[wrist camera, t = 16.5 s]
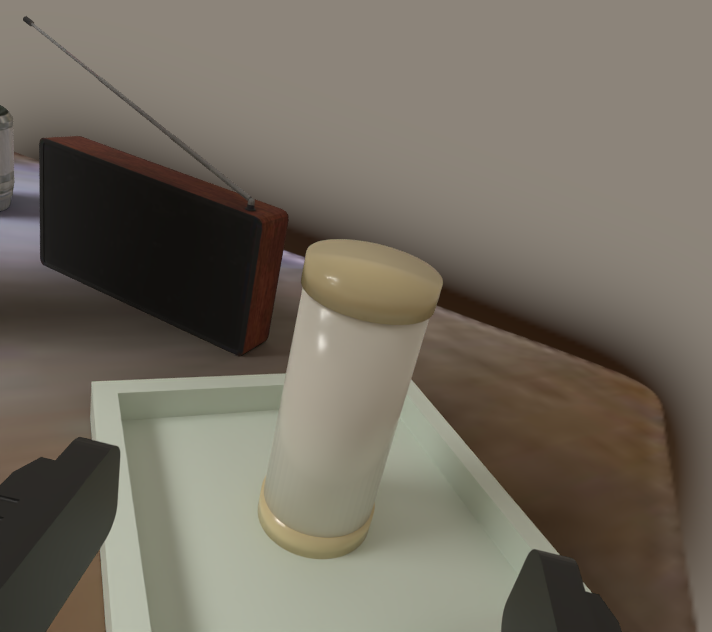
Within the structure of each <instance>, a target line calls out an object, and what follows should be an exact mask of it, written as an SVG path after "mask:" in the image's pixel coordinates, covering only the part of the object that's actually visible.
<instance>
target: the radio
mask: <svg viewBox="0 0 712 632" xmlns="http://www.w3.org/2000/svg"><path fill="white" fill-rule="evenodd" d="M23 21H25V22H26V23H27V24H28V25H30V26H33V27H34V28H35V29H37V30H38V31H39V32H40V33H42V34H43V35H44V36H45V37H47V38H48V39H49V40H50V41H51V42H53V43H54V44H55V45H57V46H58V47H59V48H60V49H61V50H63V51H64V52H65V53H66V54H68V55H69V56H70V57H71V58H73V59H74V60H75V61H76V62H78V63H79V64H80V65H81V66H83V67H84V68H85V69H86V70H88V71H89V72H90V73H91V74H93V75H94V76H95V77H96V78H98V80H99V81H100V82H101V83H103V84H104V85H105V86H106V87H108V88H109V89H110V90H112V91H113V92H114V93H115V94H116V95H118V96H119V97H120V98H121V99H123V100H124V101H125V102H126V103H128V104H129V105H130V106H131V107H133V108H134V109H135V110H136V111H138V112H139V113H140V114H141V115H142V116H144V117H145V118H146V119H147V120H149V121H150V122H151V123H152V124H154V125H155V126H156V127H158V128H159V129H160V130H161V131H162V132H164V133H165V134H166V135H167V136H169V137H170V139H171V140H173V141H174V142H175V143H177V144H178V145H179V146H180V147H181V148H183V149H184V150H185V151H186V152H188V153H189V154H190V155H191V156H192V157H194V158H195V159H196V160H197V161H199V162H200V163H201V164H202V165H204V166H205V167H206V168H207V169H209V170H210V171H211V172H212V173H214V174H215V175H216V176H217V177H219V178H220V179H221V180H222V181H223V182H225V183H226V184H227V185H229V186H230V187H231V188H232V189H233V190H235V191H236V192H237V193H236V192H233V191H230V190H227V189H225V188H222V187H219V186H216V185H214V184H211V183H208V182H205V181H203V180H200V179H197V178H194V177H192V176H189V175H186V174H183V173H181V172H178V171H175V170H172V169H169V168H166V167H164V166H161V165H158V164H156V163H153V162H150V161H147V160H145V159H142V158H139V157H136V156H133V155H131V154H128V153H125V152H122V151H120V150H117V149H114V148H111V147H109V146H106V145H103V144H100V143H98V142H95V141H92V140H89V139H87V138H84V137H81V136H72V137H53V138H42V139H41V140H40V143H39V157H40V158H39V159H40V160H39V164H40V259H41V263H42V264H43V265H45V266H47V267H49V268H51V269H53V270H55V271H57V272H60V273H62V274H64V275H66V276H68V277H70V278H72V279H75V280H77V281H79V282H81V283H83V284H85V285H87V286H90V287H92V288H94V289H96V290H98V291H100V292H102V293H105V294H107V295H109V296H111V297H113V298H115V299H117V300H120V301H122V302H124V303H126V304H128V305H130V306H132V307H135V308H137V309H139V310H141V311H143V312H145V313H147V314H150V315H152V316H154V317H156V318H158V319H160V320H162V321H165V322H167V323H169V324H171V325H173V326H175V327H177V328H180V329H182V330H184V331H186V332H188V333H190V334H192V335H195V336H197V337H199V338H201V339H203V340H205V341H207V342H210V343H212V344H214V345H216V346H218V347H220V348H222V349H225V350H227V351H229V352H231V353H233V354H235V355H237V356H241V355H243V354H244V353H246V352H248V351H249V350H251V349H253V348H254V347H256V346H258V345H259V344H261V343H263V342H264V341H266V340H267V338H268V335H269V329H270V324H271V318H272V312H273V306H274V301H275V295H276V289H277V283H278V278H279V272H280V266H281V260H282V255H283V249H284V243H285V237H286V231H287V226H288V214H287V213H286V211H284V210H282V209H280V208H277V207H274V206H271V205H269V204H266V203H263V202H261V201H258V200H255V199H253V198H251V196H249V195H248V194H247V193H246V192H244V191H243V190H242V189H240V188H239V187H238V186H237V185H236V184H234V183H233V182H232V181H231V180H229V179H228V178H227V177H226V176H224V175H223V174H222V173H221V172H220V171H218V170H217V169H216V168H214V167H213V166H212V165H210V163H208V162H207V161H206V160H204V159H203V158H202V157H201V156H199V155H198V154H197V153H196V152H194V151H193V150H192V149H190V147H188V146H187V145H186V144H185V143H183V142H182V141H181V140H180V139H178V138H177V137H176V136H174V135H172V134H171V133H170V132H169V131H167V130H166V129H165V128H164V127H162V126H161V125H160V124H159V123H157V122H156V121H155V120H154V119H153V118H151V117H150V116H149V115H147V114H146V113H145V112H144V111H143V110H141V109H140V108H139V107H138V106H136V105H135V104H134V103H133V102H131V101H130V100H129V99H128V98H126V97H125V96H124V95H123V94H121V93H120V92H119V91H117V90H116V89H115V88H114V87H113V86H111V85H110V84H109V83H108V82H106V81H105V80H104V79H103V78H101V77H99V76H98V75H97V74H96V73H94V72H93V71H92V70H90V69H89V68H88V67H87V66H85V65H84V64H83V63H82V62H81V61H79V60H78V59H77V58H76V57H74V56H73V55H72V54H71V53H69V52H68V51H67V50H66V49H65V48H63V47H62V46H61V45H59V44H58V43H57V42H56V41H55V40H53V39H52V38H51V37H50V36H48V35H47V34H46V33H45V32H43V31H42V30H41V29H40V28H38V27H37V26H36V25H34V22H33V21H32V20H31V19H29V18H28V17H27V16H26V17H24V18H23Z"/></svg>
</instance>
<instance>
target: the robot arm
mask: <svg viewBox="0 0 712 632" xmlns="http://www.w3.org/2000/svg"><path fill="white" fill-rule="evenodd" d="M119 472H120V448H119V447H118V446H115V445H111V444H107V443H103V442H99V441H95V440H91V439H87V438H82V437H78V438H76V439H75V440H74V441H73V442H72V443H71V444H70V445H69V446H68V447H67V448H66V449H65V450H64V451H63V453H62V454H61V455H60V456H59V457H58V458H57V459H56V460H51V459H47V458H43V457H40V458H38V459H37V460H35V461H33V462H31V463H29V464H27V465H25V466H24V467H22V468H20V469H18V470H16V471H14V472H13V473H12V474H11V475H10V476H9V477H8V478H7V479H6V480H5V481H4V482H3V483H2V484H1V485H0V632H46V631H47V629H48V628H49V626H50V624H51V623H52V621H53V620H54V618H55V617H56V615H57V614H58V612H59V611H60V609H61V608H62V606H63V605H64V603H65V601H66V600H67V598H68V597H69V595H70V594H71V592H72V591H73V589H74V588H75V586H76V585H77V583H78V581H79V580H80V578H81V577H82V575H83V574H84V572H85V571H86V569H87V568H88V566H89V565H90V563H91V562H92V560H93V558H94V557H95V555H96V554H97V552H98V551H99V549H100V548H101V546H102V545H103V543H104V542H105V540H106V538H107V536H108V534H109V532H110V530H111V528H112V525H113V522H114V519H115V516H116V511H117V504H118V488H119ZM501 632H622V631H621V628H620V625H619V622H618V621H617V619H616V618H615V616H614V615H613V614H612V612H611V611H610V609H609V608H608V607H607V605H606V604H605V602H604V601H603V600H602V598H601V597H600V595H599V594H595V593H591V592H586V591H585V588H584V585H583V581H582V578H581V575H580V571H579V568H578V565H577V563H576V561H575V560H574V559H573V558H570V557H565V556H561V555H557V554H553V553H549V552H545V551H541V550H537V549H533V550H531V551H530V552H529V554H528V556H527V558H526V560H525V562H524V564H523V566H522V568H521V571H520V573H519V575H518V577H517V579H516V582H515V584H514V586H513V588H512V590H511V593H510V595H509V597H508V599H507V601H506V604H505V607H504V611H503V616H502V623H501Z"/></svg>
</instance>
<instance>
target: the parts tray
mask: <svg viewBox="0 0 712 632" xmlns="http://www.w3.org/2000/svg"><path fill="white" fill-rule="evenodd" d="M285 376H286V373H284V374H260V375H236V376H213V377H189V378H165V379H141V380H117V381H93V382H92V385H91V414H90V420H91V434H92V440H95V441H99V442H103V443H107V444H111V445H115V446H118V447H119V448H120V472H119V488H118V504H117V511H116V516H115V519H114V522H113V525H112V528H111V530H110V532H109V534H108V536H107V538H106V540H105V542H104V543H103V545H102V546H101V548H100V556H101V569H102V583H103V596H104V610H105V623H106V632H501V623H502V616H503V611H504V607H505V604H506V601H507V599H508V597H509V595H510V593H511V590H512V588H513V586H514V584H515V582H516V579H517V577H518V575H519V573H520V571H521V568H522V566H523V564H524V562H525V560H526V558H527V556H528V554H529V552H530V551H531V550H533V549H537V550H541V551H545V552H549V553H553V554H557V555H559V553H558V552H557V551H556V550H555V549H554V547H553V546H552V545H551V544H550V543H549V542H548V540H547V539H546V538H545V537H544V536H543V534H542V533H541V532H540V531H539V530H538V529H537V527H536V526H535V525H534V524H533V523H532V521H531V520H530V519H529V518H528V517H527V516H526V514H525V513H524V512H523V511H522V510H521V508H520V507H519V506H518V505H517V504H516V503H515V501H514V500H513V499H512V498H511V497H510V495H509V494H508V493H507V492H506V491H505V490H504V488H503V487H502V486H501V485H500V484H499V483H498V481H497V480H496V479H495V478H494V477H493V475H492V474H491V473H490V472H489V471H488V470H487V468H486V467H485V466H484V465H483V464H482V462H481V461H480V460H479V459H478V458H477V457H476V455H475V454H474V453H473V452H472V451H471V449H470V448H469V447H468V446H467V445H466V444H465V442H464V441H463V440H462V439H461V438H460V436H459V435H458V434H457V433H456V432H455V431H454V429H453V428H452V427H451V426H450V425H449V423H448V422H447V421H446V420H445V419H444V418H443V416H442V415H441V414H440V413H439V412H438V410H437V409H436V408H435V407H434V406H433V405H432V403H431V402H430V401H429V400H428V399H427V397H426V396H425V395H424V394H423V393H422V392H421V390H420V389H419V388H418V387H417V386H416V384H415V383H414V382H413V381H412V380H411V381H410V385H409V388H408V391H407V395H406V398H405V401H404V405H403V408H402V411H401V415H400V418H399V421H398V425H397V428H396V431H395V435H394V438H393V442H392V445H391V448H390V452H389V455H388V458H387V462H386V465H385V468H384V472H383V475H382V478H381V482H380V485H379V488H378V492H377V495H376V499H375V509H374V514H373V517H372V521H371V524H370V527H369V531H368V534H367V536H366V538H365V540H364V541H363V543H362V544H361V545H360V546H359V547H358V548H357V549H355V550H354V551H352V552H351V553H349V554H346V555H344V556H341V557H337V558H332V559H312V558H306V557H302V556H299V555H296V554H293V553H291V552H289V551H287V550H285V549H283V548H281V547H280V546H279V545H277V544H276V543H275V542H274V541H272V540H271V539H270V538H269V537H268V535H267V534H266V533H265V531H264V530H263V528H262V526H261V524H260V522H259V518H258V502H259V497H260V492H261V487H262V483H263V480H264V478H265V476H266V474H267V469H268V464H269V459H270V454H271V448H272V443H273V438H274V433H275V428H276V423H277V417H278V412H279V407H280V402H281V397H282V392H283V386H284V381H285ZM583 585H584V588H585V591H586V592H591V591H590V590H589V589H588V588H587V586H586V585H585V584H584V583H583ZM591 593H592V592H591Z"/></svg>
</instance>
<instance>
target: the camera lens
mask: <svg viewBox="0 0 712 632" xmlns="http://www.w3.org/2000/svg"><path fill="white" fill-rule="evenodd" d="M13 188H14V150H13V117H12V116H11V114H10V113H9V111H8V110H7V109H6V108H4V107H3V106H1V105H0V211H3V210H5V209H7V208H8V207H9V206H10V203H11V197H12V195H13Z"/></svg>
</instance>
